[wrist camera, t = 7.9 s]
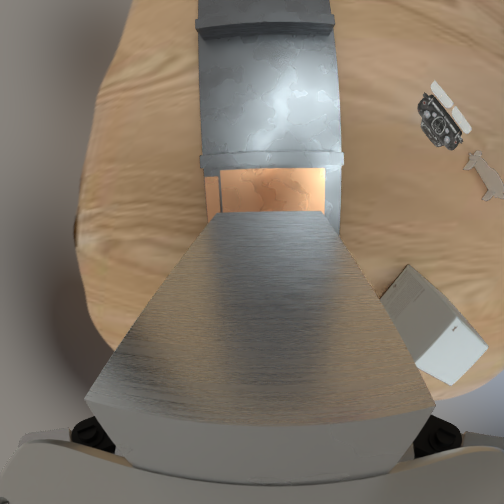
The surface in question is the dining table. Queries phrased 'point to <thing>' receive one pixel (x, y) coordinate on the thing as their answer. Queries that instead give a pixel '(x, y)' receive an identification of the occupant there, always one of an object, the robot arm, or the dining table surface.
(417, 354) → the small box
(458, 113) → the car cutout
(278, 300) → the panel
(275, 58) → the slot rack
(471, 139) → the dining table surface
